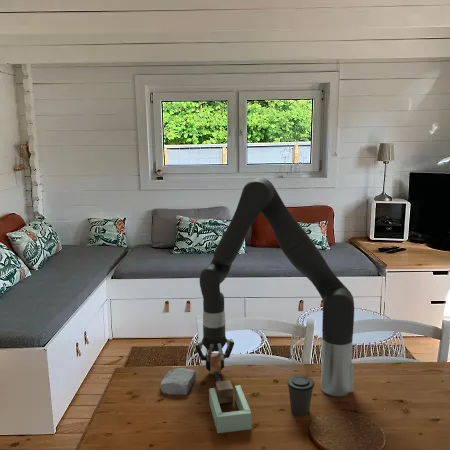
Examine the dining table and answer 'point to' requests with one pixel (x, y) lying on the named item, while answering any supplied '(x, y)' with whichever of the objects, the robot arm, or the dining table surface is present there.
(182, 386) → the stone block
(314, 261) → the robot arm
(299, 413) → the coffee cup
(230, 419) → the channel
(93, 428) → the dining table surface
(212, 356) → the wooden cube dumbbell
